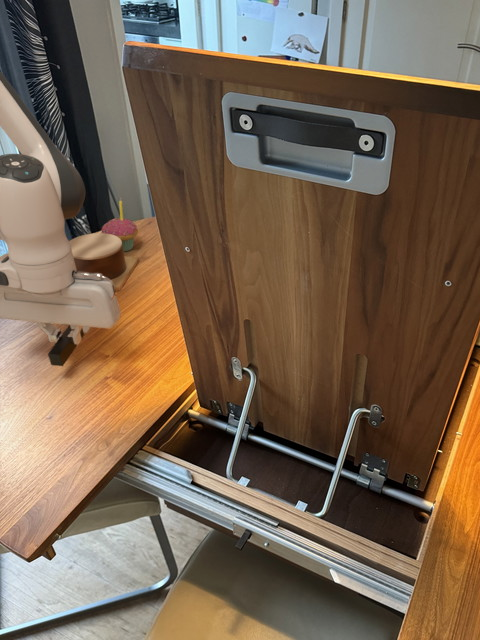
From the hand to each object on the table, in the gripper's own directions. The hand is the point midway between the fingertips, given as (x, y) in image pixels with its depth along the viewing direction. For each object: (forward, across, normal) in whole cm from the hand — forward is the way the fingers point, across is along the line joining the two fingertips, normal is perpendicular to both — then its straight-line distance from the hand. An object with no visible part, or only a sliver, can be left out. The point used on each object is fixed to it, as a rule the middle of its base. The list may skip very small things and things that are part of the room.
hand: (66, 341), depth 88 cm
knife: (+2, 0, -5) cm, 5 cm away
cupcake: (+6, +7, -46) cm, 47 cm away
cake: (+6, +8, -33) cm, 34 cm away
